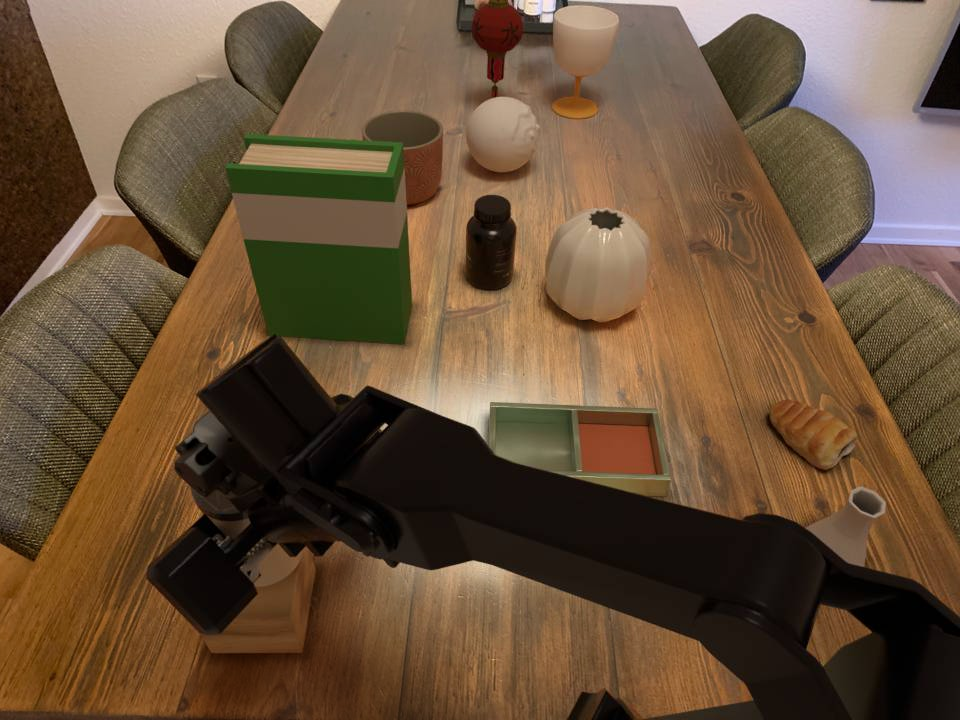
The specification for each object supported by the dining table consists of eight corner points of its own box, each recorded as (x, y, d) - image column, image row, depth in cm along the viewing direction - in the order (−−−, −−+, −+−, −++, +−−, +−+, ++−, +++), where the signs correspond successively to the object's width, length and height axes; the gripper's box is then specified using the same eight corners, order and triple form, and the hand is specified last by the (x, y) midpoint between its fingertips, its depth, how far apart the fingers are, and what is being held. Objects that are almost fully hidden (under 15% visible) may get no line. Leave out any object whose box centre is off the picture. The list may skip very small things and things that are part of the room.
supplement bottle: (455, 276, 101) (455, 203, 92) (487, 255, 104) (490, 183, 96) (490, 298, 97) (494, 225, 89) (523, 276, 101) (529, 203, 93)
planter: (398, 221, 110) (393, 157, 102) (352, 187, 116) (345, 125, 109) (459, 194, 116) (459, 131, 108) (413, 163, 122) (410, 102, 114)
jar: (276, 600, 57) (247, 526, 50) (208, 570, 59) (170, 495, 51) (319, 534, 62) (299, 457, 54) (255, 508, 63) (227, 430, 56)
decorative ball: (522, 192, 117) (527, 123, 108) (455, 176, 120) (454, 108, 111) (544, 158, 125) (551, 92, 116) (481, 144, 127) (483, 79, 119)
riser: (302, 653, 63) (289, 617, 58) (211, 653, 62) (190, 618, 57) (316, 569, 68) (305, 531, 63) (232, 570, 68) (214, 531, 63)
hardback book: (267, 335, 91) (225, 167, 74) (283, 298, 96) (246, 133, 79) (404, 344, 91) (393, 177, 74) (412, 306, 96) (403, 142, 79)
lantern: (485, 124, 133) (491, -55, 112) (460, 104, 139) (462, -71, 117) (527, 114, 136) (541, -62, 115) (502, 94, 142) (510, -77, 121)
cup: (564, 89, 144) (574, 0, 132) (615, 106, 140) (631, 15, 128) (533, 110, 137) (541, 18, 125) (585, 128, 133) (599, 34, 121)
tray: (665, 496, 75) (671, 480, 73) (487, 489, 75) (488, 472, 73) (652, 425, 82) (657, 408, 80) (489, 418, 82) (490, 401, 80)
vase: (524, 283, 100) (532, 201, 90) (610, 261, 104) (625, 180, 95) (571, 346, 91) (585, 263, 82) (662, 320, 95) (685, 237, 86)
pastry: (753, 426, 82) (763, 404, 80) (785, 399, 86) (796, 377, 83) (826, 477, 78) (840, 456, 75) (857, 446, 81) (871, 425, 78)
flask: (809, 513, 74) (847, 455, 67) (877, 559, 71) (924, 502, 64) (775, 557, 71) (810, 500, 63) (844, 607, 67) (890, 553, 60)
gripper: (343, 316, 49) (260, 364, 61) (113, 507, 38) (66, 521, 50) (439, 437, 52) (341, 461, 64) (249, 650, 40) (174, 630, 52)
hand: (240, 510), depth 57 cm, fingers closed on jar, 6 cm apart
